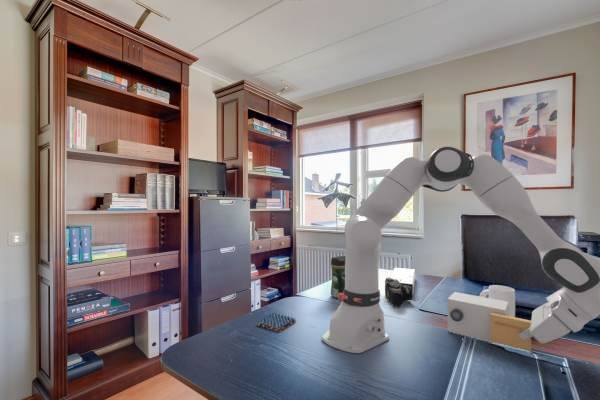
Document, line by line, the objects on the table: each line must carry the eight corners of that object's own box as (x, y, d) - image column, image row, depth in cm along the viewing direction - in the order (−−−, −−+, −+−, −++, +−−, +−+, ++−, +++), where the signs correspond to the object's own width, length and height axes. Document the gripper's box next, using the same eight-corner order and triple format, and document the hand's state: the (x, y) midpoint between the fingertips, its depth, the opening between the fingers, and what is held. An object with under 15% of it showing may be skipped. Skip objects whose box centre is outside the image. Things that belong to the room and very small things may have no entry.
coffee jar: (344, 292, 141) (344, 254, 141) (355, 297, 134) (355, 256, 134) (327, 295, 136) (327, 255, 136) (338, 300, 129) (338, 258, 129)
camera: (417, 308, 120) (417, 284, 120) (392, 308, 120) (392, 284, 120) (404, 296, 136) (404, 274, 136) (382, 296, 136) (382, 274, 136)
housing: (504, 348, 87) (504, 311, 87) (446, 333, 97) (446, 300, 97) (508, 335, 96) (508, 301, 96) (454, 322, 106) (454, 291, 106)
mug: (485, 311, 117) (485, 281, 117) (519, 322, 106) (519, 289, 106) (473, 315, 113) (473, 284, 113) (507, 326, 102) (507, 292, 102)
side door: (530, 355, 82) (530, 323, 82) (490, 344, 88) (490, 314, 88) (531, 352, 83) (530, 320, 84) (491, 341, 90) (491, 312, 90)
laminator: (412, 297, 135) (412, 284, 135) (385, 294, 139) (385, 281, 139) (415, 280, 166) (414, 269, 166) (392, 277, 171) (392, 267, 171)
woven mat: (280, 334, 97) (280, 328, 97) (256, 326, 103) (256, 321, 103) (297, 323, 106) (297, 317, 106) (274, 317, 112) (274, 311, 112)
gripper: (555, 290, 87) (514, 314, 94) (556, 308, 72) (508, 336, 78) (575, 308, 84) (532, 332, 91) (582, 332, 69) (529, 359, 75)
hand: (521, 334), depth 84 cm, fingers closed on side door, 2 cm apart
